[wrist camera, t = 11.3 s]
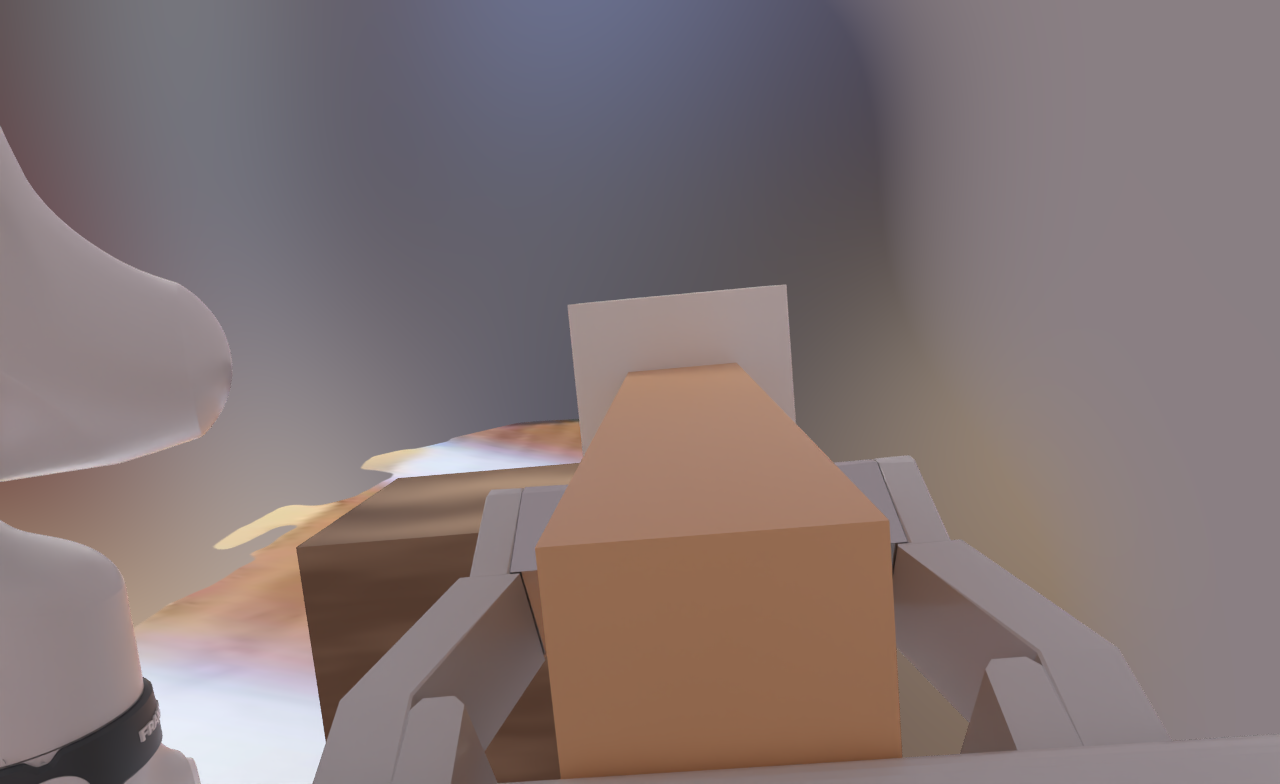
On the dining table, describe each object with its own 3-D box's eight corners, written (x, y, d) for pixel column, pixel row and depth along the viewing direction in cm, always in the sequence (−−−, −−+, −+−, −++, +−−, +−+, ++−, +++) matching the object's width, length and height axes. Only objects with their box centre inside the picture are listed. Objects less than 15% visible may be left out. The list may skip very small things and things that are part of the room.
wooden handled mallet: (1080, 839, 7) (1066, 262, 6) (407, 877, 7) (331, 329, 6) (771, 427, 28) (760, 286, 27) (603, 441, 28) (589, 302, 27)
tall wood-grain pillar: (612, 1093, 34) (550, 527, 31) (381, 1103, 35) (296, 547, 32) (627, 888, 46) (582, 462, 43) (454, 897, 47) (397, 478, 44)
